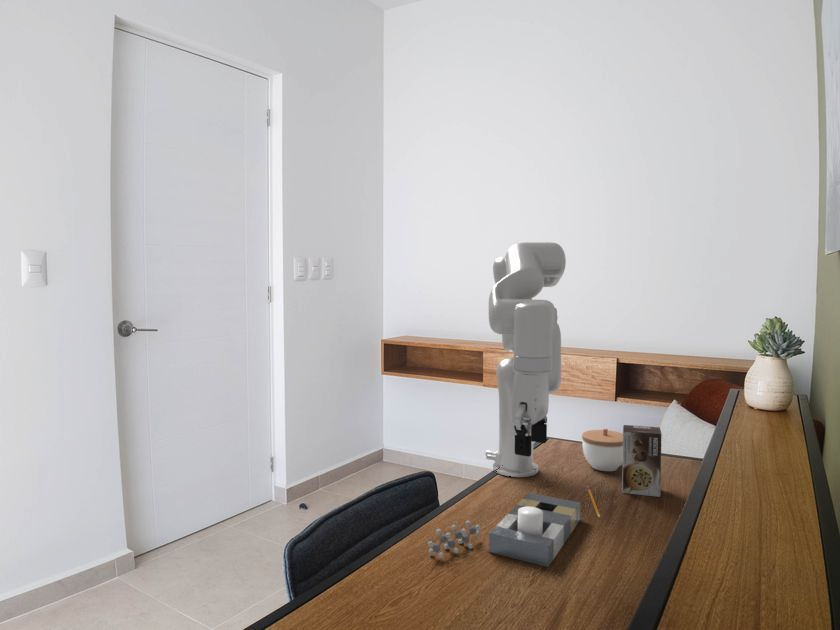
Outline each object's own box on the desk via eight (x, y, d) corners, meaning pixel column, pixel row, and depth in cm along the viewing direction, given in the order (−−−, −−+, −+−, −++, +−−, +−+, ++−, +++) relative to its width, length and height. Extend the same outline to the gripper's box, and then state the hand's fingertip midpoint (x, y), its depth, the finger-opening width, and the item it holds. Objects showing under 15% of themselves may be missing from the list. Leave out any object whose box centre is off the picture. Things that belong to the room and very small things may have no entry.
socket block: (489, 552, 116) (489, 532, 116) (528, 509, 137) (528, 492, 137) (548, 567, 110) (548, 546, 110) (580, 519, 131) (580, 502, 131)
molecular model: (435, 565, 111) (436, 540, 111) (421, 557, 115) (421, 532, 114) (485, 544, 120) (486, 520, 120) (471, 537, 123) (471, 514, 123)
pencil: (587, 488, 151) (585, 486, 151) (589, 487, 151) (588, 484, 151) (599, 520, 132) (597, 517, 132) (602, 518, 132) (600, 515, 132)
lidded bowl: (584, 473, 161) (585, 434, 160) (578, 459, 174) (579, 422, 173) (632, 475, 159) (633, 436, 159) (622, 461, 172) (623, 424, 171)
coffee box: (659, 488, 150) (661, 427, 149) (660, 497, 144) (662, 433, 143) (621, 484, 153) (623, 423, 152) (621, 493, 147) (623, 430, 146)
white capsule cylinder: (513, 546, 119) (514, 513, 118) (521, 537, 123) (522, 504, 122) (537, 552, 116) (538, 518, 116) (545, 542, 120) (546, 509, 120)
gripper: (528, 357, 126) (527, 435, 127) (498, 369, 111) (497, 457, 112) (563, 360, 122) (561, 440, 124) (536, 373, 107) (535, 464, 109)
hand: (531, 448), depth 118 cm, fingers open, 9 cm apart
